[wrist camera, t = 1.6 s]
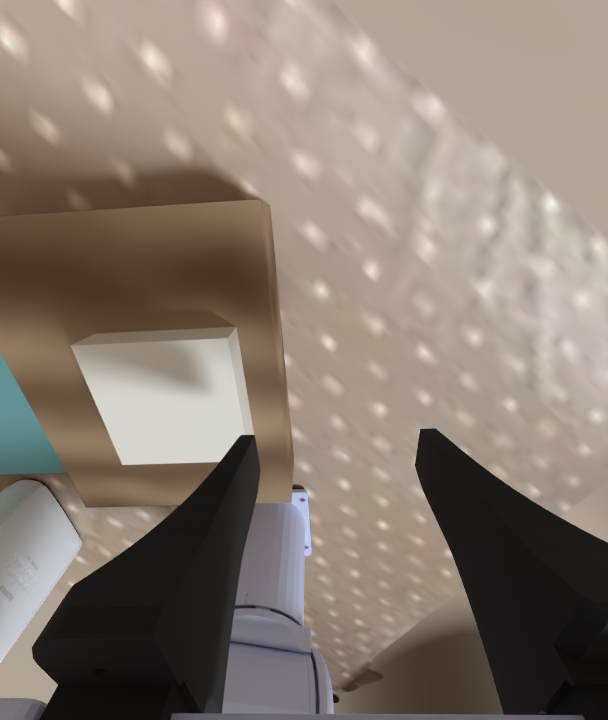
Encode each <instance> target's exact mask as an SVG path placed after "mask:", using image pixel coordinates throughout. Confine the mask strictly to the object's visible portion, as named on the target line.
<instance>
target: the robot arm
mask: <svg viewBox="0 0 608 720" xmlns="http://www.w3.org/2000/svg"><path fill="white" fill-rule="evenodd" d="M415 467H416V470H417V474H418V477H419V480H420V483H421V486H422V489H423V491H424V494H425V496H426V498H427V500H428V502H429V504H430V507H431V509H432V511H433V513H434V515H435V517H436V520H437V522H438V524H439V526H440V528H441V530H442V532H443V535H444V537H445V539H446V541H447V543H448V545H449V548H450V550H451V553H452V555H453V557H454V560H455V563H456V566H457V568H458V571H459V574H460V577H461V579H462V582H463V585H464V588H465V591H466V594H467V597H468V599H469V603H470V605H471V608H472V611H473V614H474V617H475V620H476V623H477V627H478V630H479V633H480V636H481V639H482V642H483V645H484V648H485V652H486V655H487V658H488V661H489V665H490V668H491V671H492V675H493V678H494V681H495V685H496V688H497V692H498V695H499V699H500V702H501V706H502V709H503V713H504V715H450V714H447V715H445V714H439V715H438V714H434V715H433V714H334V710H333V696H332V687H331V681H330V676H329V672H328V669H327V666H326V664H325V662H324V660H323V657H322V655H321V653H320V651H319V650H318V649H316V648H311V629H310V628H305V627H304V556H309V555H311V537H310V523H309V509H308V495H307V491H306V490H304V489H292V503H256V499H257V494H258V487H259V480H260V471H261V469H260V463H259V457H258V451H257V445H256V439H255V435H240V436H239V437H238V439H237V440H236V441H235V443H234V444H233V445H232V447H231V448H230V449H229V451H228V452H227V453H226V455H225V456H224V457H223V458H222V460H221V461H220V462H219V463H218V465H217V466H216V467H215V468H214V469H213V471H212V472H211V473H210V474H209V475H208V476H207V478H206V479H205V480H204V481H203V482H202V483H201V484H200V485H199V486H198V487H197V489H196V490H195V491H194V492H193V493H192V494H191V495H190V496H189V497H188V498H187V499H186V500H185V501H184V502H183V503H182V504H181V505H180V506H179V507H178V508H177V509H176V510H174V511H173V512H172V513H171V514H170V515H169V516H168V517H167V518H165V519H164V520H163V521H162V522H161V523H159V524H158V525H157V526H156V527H155V528H154V529H152V530H151V531H150V532H149V533H148V534H146V535H145V536H144V537H142V538H141V539H140V540H139V541H137V542H136V543H135V544H133V545H132V546H131V547H129V548H128V549H126V550H125V551H124V552H122V553H121V554H120V555H118V556H117V557H115V558H114V559H112V560H111V561H110V562H108V563H107V564H105V565H104V566H102V567H100V568H99V569H97V570H96V571H94V572H93V573H91V574H90V575H88V576H87V577H85V578H84V579H82V580H81V581H79V582H78V583H76V584H74V585H73V586H72V588H71V589H70V591H69V592H68V593H67V595H66V596H65V598H64V599H63V600H62V602H61V603H60V605H59V606H58V608H57V610H56V611H55V613H54V614H53V616H52V617H51V619H50V620H49V622H48V623H47V625H46V626H45V628H44V630H43V631H42V633H41V634H40V636H39V637H38V639H37V640H36V642H35V643H34V645H33V647H32V653H33V659H34V660H35V661H36V663H37V664H38V665H39V666H40V667H41V668H42V669H43V670H44V671H45V672H46V673H47V674H48V675H49V676H50V677H51V678H52V679H53V680H54V681H55V682H56V683H57V684H58V687H57V688H56V690H55V692H54V694H53V696H52V698H51V699H50V701H49V703H48V705H47V704H45V703H44V702H42V701H39V700H35V699H28V698H27V699H26V698H0V720H608V543H607V542H605V541H603V540H601V539H599V538H597V537H595V536H593V535H591V534H589V533H587V532H585V531H584V530H582V529H579V528H578V527H576V526H574V525H572V524H570V523H569V522H567V521H565V520H563V519H562V518H560V517H558V516H556V515H555V514H553V513H551V512H549V511H548V510H546V509H544V508H543V507H541V506H539V505H538V504H536V503H534V502H533V501H531V500H530V499H528V498H527V497H525V496H523V495H522V494H520V493H519V492H517V491H516V490H514V489H513V488H511V487H510V486H508V485H507V484H505V483H504V482H503V481H501V480H500V479H498V478H497V477H496V476H494V475H493V474H492V473H490V472H489V471H487V470H486V469H485V468H483V467H482V466H481V465H480V464H478V463H477V462H476V461H474V460H473V459H472V458H471V457H469V456H468V455H467V454H466V453H464V452H463V451H462V450H461V449H460V448H458V447H457V446H456V445H455V444H454V443H452V442H451V441H450V440H449V439H448V438H446V437H445V436H444V435H443V434H441V433H440V432H439V431H438V430H436V429H420V435H419V442H418V449H417V456H416V462H415Z"/></svg>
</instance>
